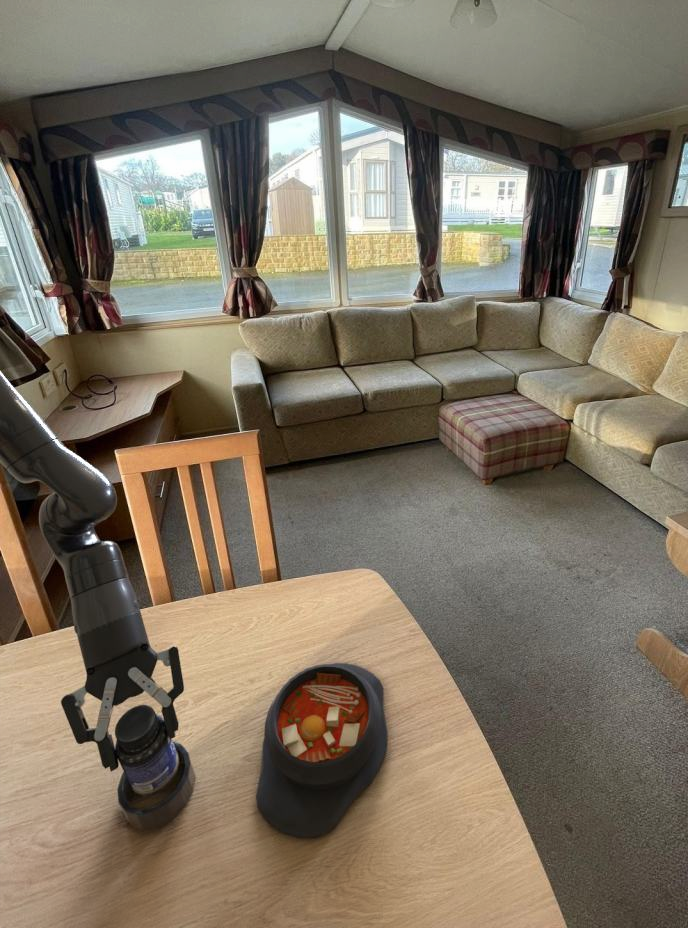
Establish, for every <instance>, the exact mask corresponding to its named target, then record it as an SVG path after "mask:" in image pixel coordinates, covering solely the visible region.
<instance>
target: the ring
mask: <svg viewBox="0 0 688 928" xmlns="http://www.w3.org/2000/svg"><path fill="white" fill-rule="evenodd" d="M173 743H174V746H175V748H176V751H177V754H178V757H179V763H181V764H182V765H183V766H184V769H183V774H182V777H181V780H180V781H179V783H178V785H177V787H176V789H174V791H173V792H172V793H171V794H170V795H169V796H168V797H167V798H166V799H164V800H163V801H162V802H160V803H158V804H156V805H155V806H152V807H147V808H141V809H140V808H137V807H133V806H131V801H132V796H133V792H134V791H133V789H132V787H131V785H130V783H129V781H128V779H127V777H126V775H125V773H124V771H123V772H122V773H121V776H120V779H119V782H118V786H117V797H118V798H117V800H118V805H119V806H120V808H121V810H122V813H123V815H124V817H125V819H126V820H127V822H128V823H129V824H130V826H131V827H132V828H135V829H138V830H140V831H150V830H156V829H159V828H161V827H163V826H165V825H166V824H168V823H171V821H173V820H174V819H176V818H177V816H178V815H179V814H180V813H181V812H182V811H183V810H184V809H185V808H186V806H187V804H188V802H189V800H190V799H191V797H192V795H193V793H194V789H195V783H196V773H195V768H194V765H193V762H192V759H191V755H190V752H189V750H188V749H186V747H185V746H183V744H182V743H180V742H176V741H173Z"/></svg>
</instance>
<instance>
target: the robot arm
mask: <svg viewBox="0 0 688 928" xmlns="http://www.w3.org/2000/svg"><path fill="white" fill-rule="evenodd" d="M0 464H1V465H2V466H3V467H4V468H5V469H6V470H7V471H8V473H9V474H10V475H11V476H12V477H13V478H14V479H16V480H17V481H18V482H20V483H23V484H30V483H35V482H41V483H42V484H44V485H45V486H46V487H47V488H49V489H50V490H52V491H53V492H52V493H50V494H49V495H48V496H47V497H46V498H45V499H44V500H43V501H42V503H41V505H40V506H39V512H38V523H39V529H40V531H41V534H42V536H43V538H44V540H45V542H46V543H47V545H48V547H49V549H50V551H51V552H52V554H53V555H54V558H55V559H56V561H57V562H58V564H59V565H60V566H61V568H62V570H63V573H64V578H65V583H66V587H67V591H68V595H69V598H70V605H71V615H72V616H71V617H72V621H73V629H74V632H75V634H76V637H77V640H78V645H79V649H80V652H81V656H82V657H81V658H82V661H83V664H84V669H85V672H86V679H85V682H84V685H83V686H82V687H80V688H78V689H76V690H74V691H73V692H69V693H66V694H65V695H64V696H63V697H62V698H61V699H60V705H61V707H62V709H63V712H64V715H65V717H66V720H67V722H68V724H69V727H70V730H71V732H72V735H73V737H74V739H75V741H76V743H77V744H78V745H83V744H85V743H91V742H94V743H95V744H96V745H97V749H98V754H99V757H100V762H101V766H102V767H103V768H104V769H108V768H109V770H110V772H113V771H115V770H117V769H118V768H119V765H120V762H119V760H118V758H117V756H116V752H115V743H114V739H113V736H112V733H110V732H109V729H110V728H109V727H110V723H111V719H112V715H113V711H114V707H115V706H116V707H117V706H119V705H121V704H123V703H124V702H126V701H127V700H128V699H131V698H135V697H137V696H140V695H142V694H143V693H144V692H145V693H146V694H148V695H149V697H151V698H152V699H154V700H155V701H156V702H157V703H158V704H159V705H160V706H161V707H162V708H161V714H162V718H163V719H164V722H165V725H166V729H167V732H168V736H169V739H172V740H173V739H174V738H176V732H177V731H178V730H179V725H180V723H179V719H178V716H177V712H176V710H175V705H174V702H175V700H177V698H178V697H180V695H182V694H183V693H184V691H185V684H184V677H183V672H182V666H181V664H182V663H181V659H180V652H179V647H178V646H176V645H173V646H170V647H169V648H167V649H164V650H162V651H158V652H156V651H155V649H153V648H152V646H151V643H150V640H149V636H148V633H147V630H146V626H145V622H144V620H143V616H142V612H141V609H140V604H139V600H138V598H137V595H136V592H135V590H134V587H133V585H132V583H131V581H130V577H129V574H128V571H127V567H126V563H125V560H124V556H123V553H122V551H121V548H120V546H119V545H118V543H116V542H114V541H112V540H101V539H100V537H99V535H98V534H97V532H96V530H95V526H97V525H98V524H101V523H102V522H103V521H105V520H107V519H108V518H109V517H110V516H111V515H113V513H114V512H115V511H116V508H117V505H118V496H117V491H116V489H115V486H114V485H113V483H112V482H111V480H110V479H109V478H108V476H106V475H105V474H104V473H103V472H101V471H100V470H99V469H98V468H96V467H95V466H93V465H92V464H91V463H90V462H88V461H87V460H85V459H84V458H83V457H81V456H80V455H79V454H77V453H75V452H73V450H70V449H69V448H67V447H66V446H65V444H64V443H63V442H62V440H61V439H59V436H58V435H56V433H55V432H54V431H53V429H52V428H51V427H50V426H49V424H48V423H47V422H46V421H45V420H44V419H43V418H42V417H41V415H40V414H39V413H38V412H37V411H36V410H35V409H34V407H33V406H31V404H30V403H29V402H28V401H27V400H26V399H25V398H24V397H23V395H22V394H21V393H20V392H19V391H18V390H17V389H16V388H15V387H14V385H13V384H12V383H11V382H10V381H9V379H7V377H6V376H5V374H3V372H2V371H1V370H0ZM158 661H161V662H162V664H163V666H165V667H170V672H171V673H170V674H171V679H172V680H171V681H172V685H173V686H172V688H171V689H170V690H169V691H167V690H165V689H164V688H163V687H162V686H161V684H159V683H158V682H157V681H156V680H155V679H154V678H153V673H154V671H155V668H156V666H157V663H158ZM87 694H89V695H90V696H92V697H94V698H96V699H97V700H99V701H101V703H100V706H99V707H100V708H99V710H98V711H99V712H98V716H97V722H96V726H95V727H92V728H91V727H90V726H89V724H88V722H87V719H86V717H85V714H84V712H83V709H82V707H83V706H84V705H85V703H86V695H87Z"/></svg>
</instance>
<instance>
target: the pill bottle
mask: <svg viewBox="0 0 688 928" xmlns="http://www.w3.org/2000/svg"><path fill="white" fill-rule="evenodd" d="M114 736H115V738H116V741H115V744H114V747H115V752H116V756H117V759H118V763H119V765H120V767H121V768H122V771H123V772H124V773H125V775H126V777H127V779H128V781H129V783H130V785H131V787H132V789H133V792H134V793H135V794H137V795H139V796H142V797H149V796H153V795H156V794H158V793H160V792H161V791H163V790H164V789H166V788H167V787H168V786H169V785H170V784H171V782H172V781H173V780H174V779H175V777H176V775H177V773H178V770H179V766H180V762H179V757H178V754H177V751H176V748H175V746H174V743H173V742H174V740H173V738H172V739H169V736H168V732H167V729H166V725H165V722H164V718H163V716H161V715H160V714H157V713H156V711H155V710H154V708H153V707H152V706H150V705H148V704H140V705H136V706H133V707H131V708H130V709H128V710H126V712H124V713H123V714H122V716H120V718H119V719H118V721H117V722H116V725H115V727H114Z"/></svg>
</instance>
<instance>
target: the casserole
mask: <svg viewBox="0 0 688 928" xmlns="http://www.w3.org/2000/svg"><path fill="white" fill-rule="evenodd" d="M384 690H385V689H384V686H383V684H382V682H381V680H380V678H378V677H377V676H376V675H375V674H374V673H373V672H371V671H369V669H366V668H364V667H363V666H362V667H361V666H359V665H356V664H351V663H347V662H335V663H323V664H316V665H314V666H310V667H308V668H305V669H303V670H302V671H300V672H298V673H296V674H295V675H294V676H292V677H291V678H290V679H289V680H287V681H286V683H285V684H284V685H283V686H282V687H281V688H280V690H279V691H278V693H277V694H276V696H275V697H274V699H273V700H272V701H271V704H270V706H269V709H268V710H267V713H266V718H265V722H264V733H263V735H264V736H263V741H262V754H261V756H262V757H261V771H260V776H259V780H258V784H257V789H256V795H255V798H256V805H257V809H258V810H259V812H260V814H261V815H262V817H263V819H264V820H266V822H267V823H268V824H269V825H271V826H272V828H274V829H276V830H278V831H279V832H281V833H283V834H284V835H288V836H292V837H296V838H302V839H303V838H305V839H313V838H317V837H322V836H323V837H324V836H325V835H326V834H328V833H329V832H331V831H333V830H334V829H335V828H336V826H337V825H338V824H339V822H340V821H341V820H342V818H343V817H344V815H345V814H346V812H347V811H348V809H349V808H350V807H351V805H352V803H353V802H354V801H355V800H356V799H357V798H359V796H361V794H362V793H363V792H364V791H365V790H366V789H367V788H368V787H370V785H371V784H372V783H373V782H374V779H376V777H377V775H378V774H379V772H380V770H381V768H382V765H383V763H384V761H385V758H386V753H387V749H388V740H389V739H388V736H389V735H388V734H389V733H388V732H389V731H388V725H387V720H386V715H385V710H384Z"/></svg>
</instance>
